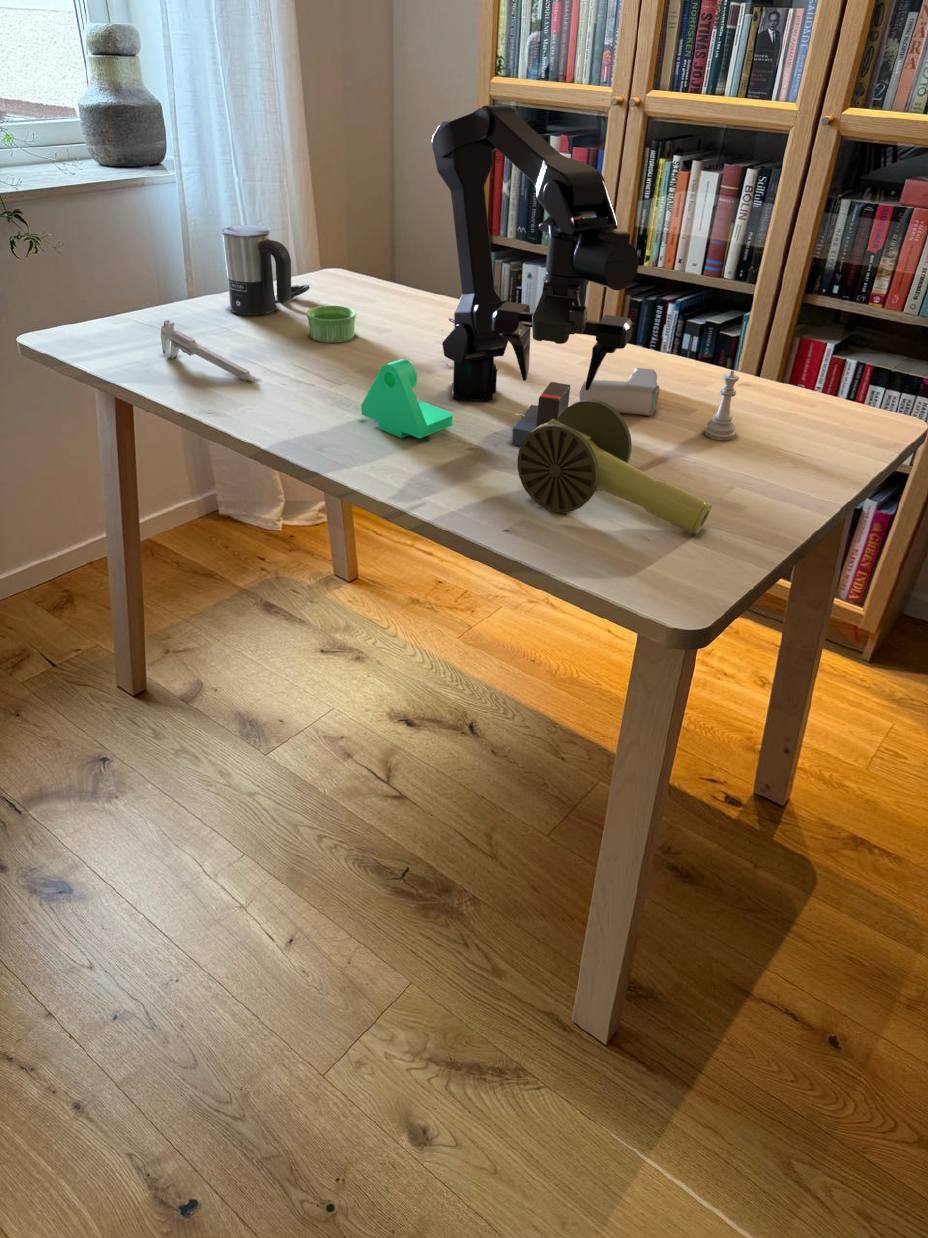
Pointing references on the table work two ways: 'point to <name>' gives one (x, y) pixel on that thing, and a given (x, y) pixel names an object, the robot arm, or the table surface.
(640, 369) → the infrared thermometer
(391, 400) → the camera mount
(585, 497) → the cannon
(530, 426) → the base
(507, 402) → the table surface
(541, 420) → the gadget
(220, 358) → the caliper
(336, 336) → the ramekin
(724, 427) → the chess piece
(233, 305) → the milk frother
